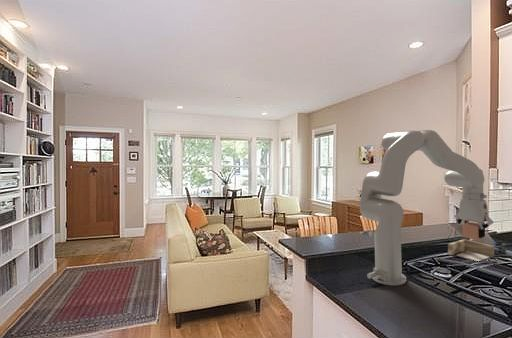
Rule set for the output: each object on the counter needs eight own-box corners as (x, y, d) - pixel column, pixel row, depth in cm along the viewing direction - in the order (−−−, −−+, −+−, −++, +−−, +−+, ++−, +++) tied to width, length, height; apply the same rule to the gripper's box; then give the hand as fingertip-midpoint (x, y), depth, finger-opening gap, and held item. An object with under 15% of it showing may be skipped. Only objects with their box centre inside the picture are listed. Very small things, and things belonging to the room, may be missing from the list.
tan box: (477, 263, 124) (477, 251, 124) (448, 254, 135) (447, 243, 135) (494, 256, 130) (494, 245, 130) (464, 248, 141) (464, 238, 141)
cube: (484, 237, 130) (484, 224, 129) (476, 240, 127) (476, 226, 126) (469, 234, 135) (469, 221, 134) (462, 236, 132) (461, 223, 132)
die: (490, 248, 142) (475, 230, 146) (502, 244, 134) (486, 225, 138) (476, 256, 141) (461, 237, 145) (487, 253, 133) (471, 233, 137)
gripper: (500, 197, 123) (500, 238, 125) (457, 193, 139) (457, 229, 140) (490, 199, 120) (490, 242, 121) (447, 195, 136) (448, 232, 137)
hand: (473, 235), depth 131 cm, fingers closed on cube, 6 cm apart
